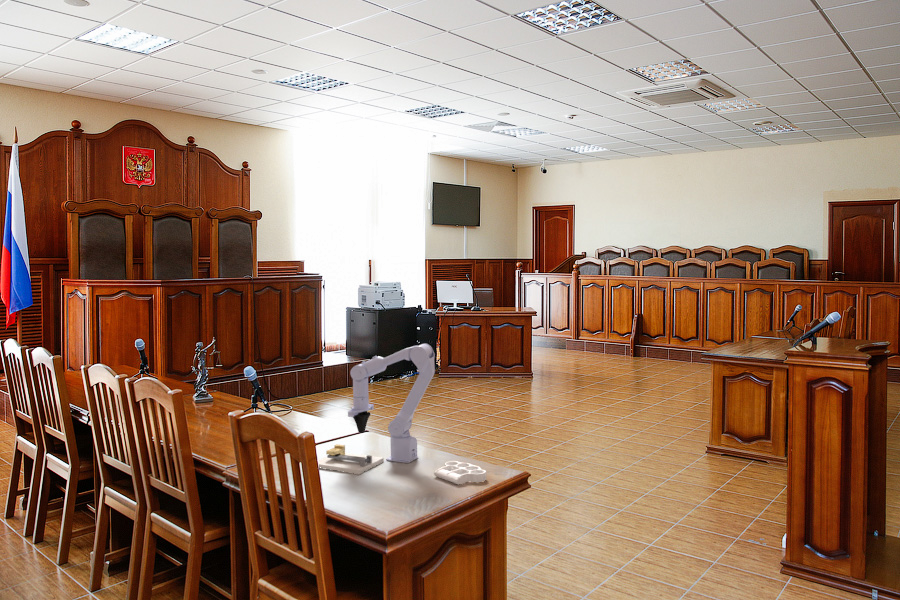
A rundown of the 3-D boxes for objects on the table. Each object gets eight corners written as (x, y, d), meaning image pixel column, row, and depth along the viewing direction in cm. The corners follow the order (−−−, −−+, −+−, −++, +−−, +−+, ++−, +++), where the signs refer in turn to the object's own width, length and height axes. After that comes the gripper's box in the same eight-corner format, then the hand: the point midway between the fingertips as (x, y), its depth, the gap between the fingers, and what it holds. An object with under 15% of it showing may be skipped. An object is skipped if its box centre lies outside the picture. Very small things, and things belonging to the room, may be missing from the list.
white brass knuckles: (428, 476, 225) (460, 467, 234) (463, 489, 211) (495, 479, 221) (428, 466, 225) (460, 458, 234) (463, 479, 211) (495, 469, 220)
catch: (345, 456, 243) (344, 445, 242) (334, 460, 237) (334, 449, 236) (337, 454, 244) (336, 444, 244) (326, 459, 238) (326, 448, 238)
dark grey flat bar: (369, 461, 234) (369, 457, 234) (365, 463, 231) (365, 459, 231) (332, 456, 241) (332, 452, 241) (327, 458, 238) (327, 454, 238)
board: (383, 461, 241) (383, 451, 241) (359, 474, 226) (359, 462, 226) (338, 455, 249) (338, 445, 249) (312, 467, 235) (312, 456, 235)
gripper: (362, 392, 255) (363, 426, 256) (340, 398, 242) (341, 435, 243) (378, 393, 252) (378, 428, 253) (356, 400, 239) (357, 437, 240)
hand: (361, 431), depth 247 cm, fingers closed
